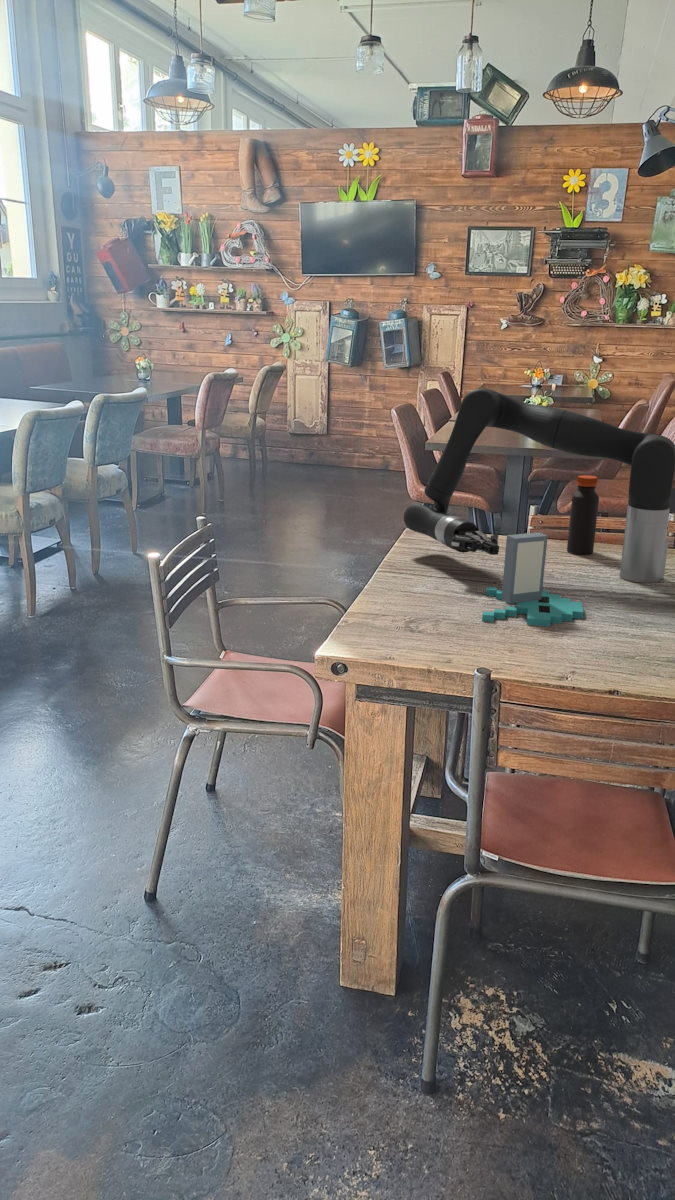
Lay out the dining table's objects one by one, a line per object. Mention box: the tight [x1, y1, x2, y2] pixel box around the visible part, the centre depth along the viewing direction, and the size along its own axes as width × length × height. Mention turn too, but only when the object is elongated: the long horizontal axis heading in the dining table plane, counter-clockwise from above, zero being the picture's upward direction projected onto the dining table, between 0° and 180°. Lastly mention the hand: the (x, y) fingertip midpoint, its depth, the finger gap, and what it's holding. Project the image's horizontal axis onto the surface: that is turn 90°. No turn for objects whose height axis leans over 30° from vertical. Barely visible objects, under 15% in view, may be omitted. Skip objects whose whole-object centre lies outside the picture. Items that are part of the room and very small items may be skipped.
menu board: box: [501, 532, 549, 605], centre depth 179 cm, size 8×3×14 cm, turn 112°
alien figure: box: [481, 586, 584, 627], centre depth 179 cm, size 20×2×20 cm
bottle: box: [566, 474, 600, 556], centre depth 223 cm, size 7×7×20 cm
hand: (495, 550), depth 191 cm, fingers closed
